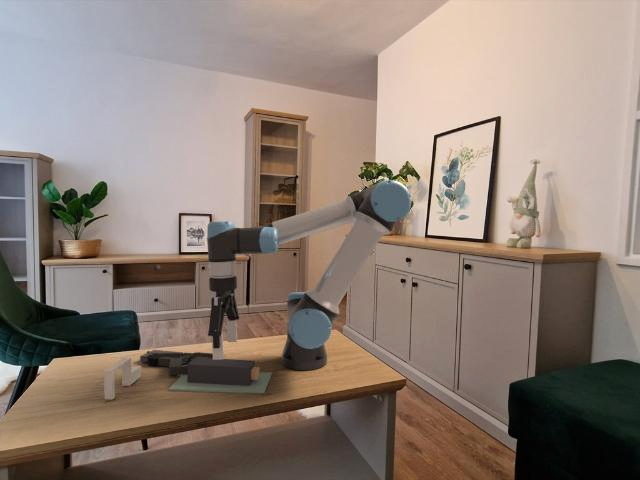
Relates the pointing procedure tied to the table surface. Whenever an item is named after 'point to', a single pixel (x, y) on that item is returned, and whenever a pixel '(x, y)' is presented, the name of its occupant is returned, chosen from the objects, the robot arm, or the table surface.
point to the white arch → (127, 376)
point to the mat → (255, 386)
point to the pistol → (172, 359)
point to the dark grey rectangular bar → (222, 371)
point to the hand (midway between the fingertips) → (225, 350)
